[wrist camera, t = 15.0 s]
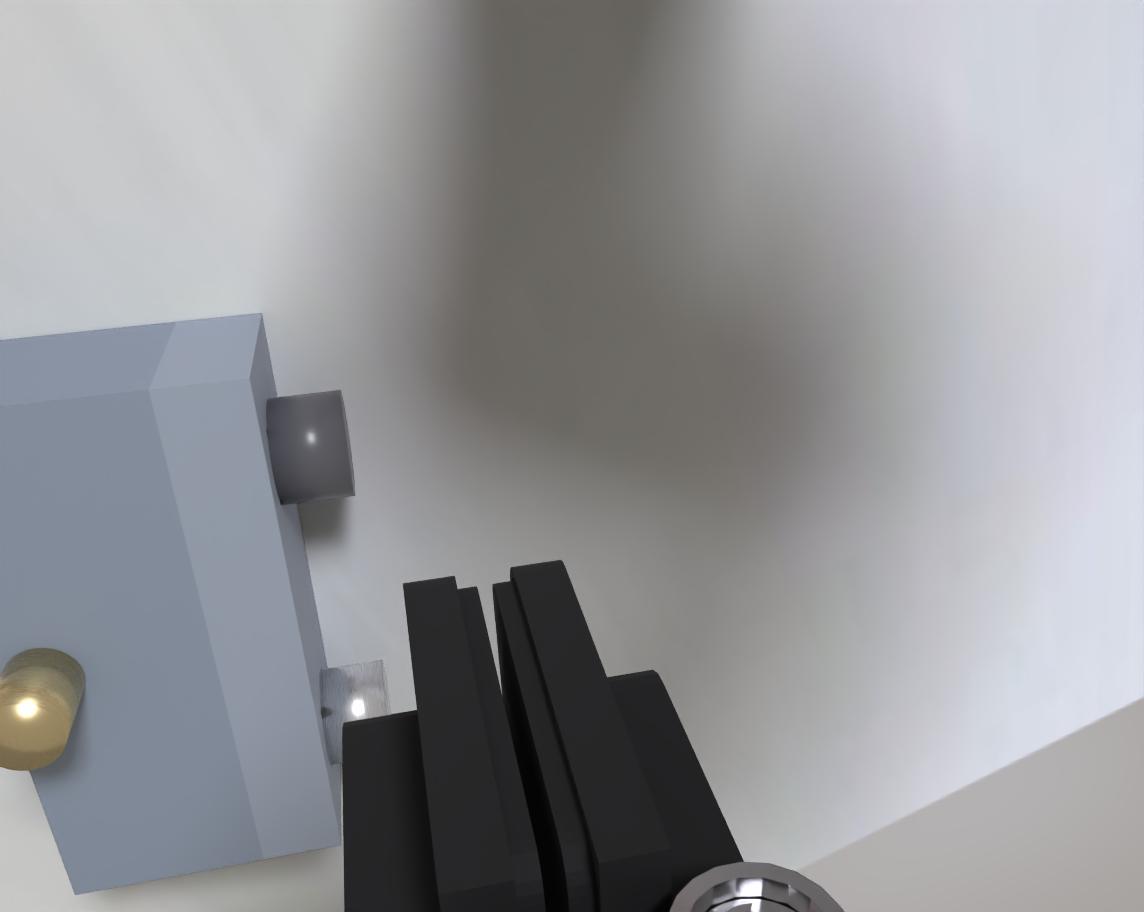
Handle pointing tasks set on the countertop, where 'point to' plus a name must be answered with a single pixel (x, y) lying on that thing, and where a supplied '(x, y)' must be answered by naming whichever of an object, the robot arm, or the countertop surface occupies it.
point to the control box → (163, 600)
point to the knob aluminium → (351, 700)
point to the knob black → (310, 447)
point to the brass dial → (37, 707)
